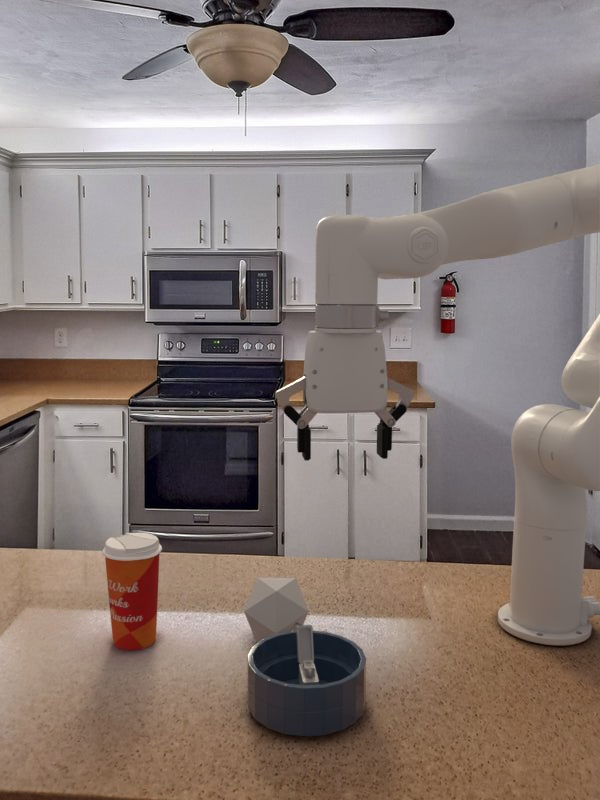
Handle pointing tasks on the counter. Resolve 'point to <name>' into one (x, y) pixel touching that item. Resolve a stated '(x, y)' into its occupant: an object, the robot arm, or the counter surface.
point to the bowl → (306, 704)
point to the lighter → (306, 656)
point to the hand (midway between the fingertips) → (344, 457)
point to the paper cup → (133, 588)
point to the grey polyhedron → (275, 607)
